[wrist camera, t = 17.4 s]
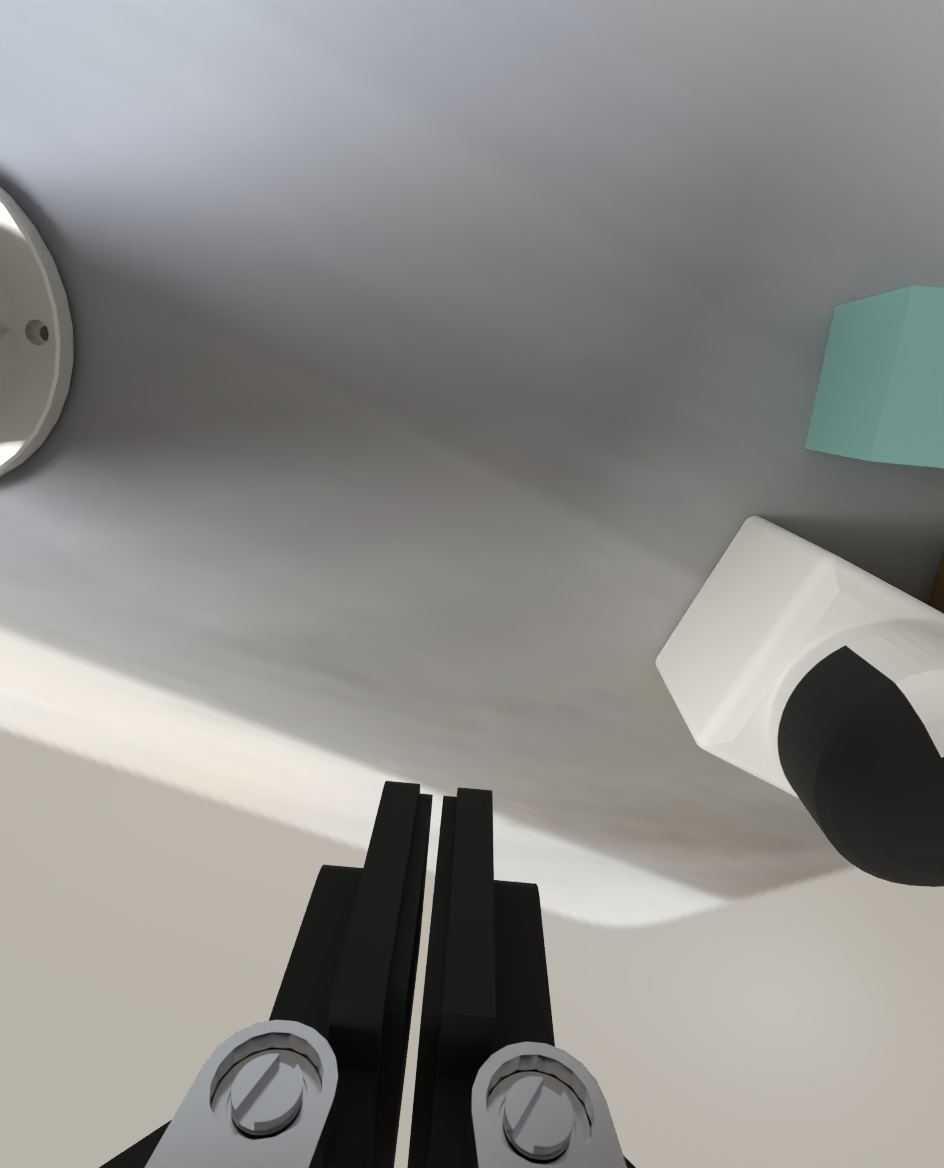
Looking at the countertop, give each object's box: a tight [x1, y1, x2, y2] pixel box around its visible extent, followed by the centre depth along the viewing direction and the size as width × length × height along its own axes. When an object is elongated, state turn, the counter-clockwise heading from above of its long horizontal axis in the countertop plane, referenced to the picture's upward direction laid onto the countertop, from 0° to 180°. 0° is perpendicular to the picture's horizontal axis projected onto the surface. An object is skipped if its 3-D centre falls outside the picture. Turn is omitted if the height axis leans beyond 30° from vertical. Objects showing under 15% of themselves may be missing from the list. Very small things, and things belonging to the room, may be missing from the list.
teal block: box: [804, 285, 944, 468], centre depth 23 cm, size 5×5×5 cm
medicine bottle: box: [656, 516, 944, 887], centre depth 22 cm, size 7×7×12 cm
